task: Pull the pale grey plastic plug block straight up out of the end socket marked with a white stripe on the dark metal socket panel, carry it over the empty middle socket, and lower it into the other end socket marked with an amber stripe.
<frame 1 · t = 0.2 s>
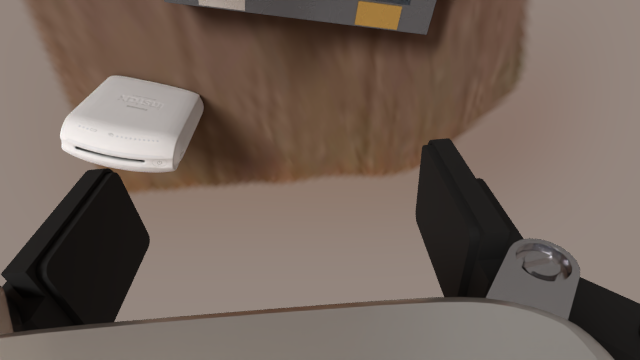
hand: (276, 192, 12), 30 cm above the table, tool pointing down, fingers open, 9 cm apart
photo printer: (158, 97, 41), on the table
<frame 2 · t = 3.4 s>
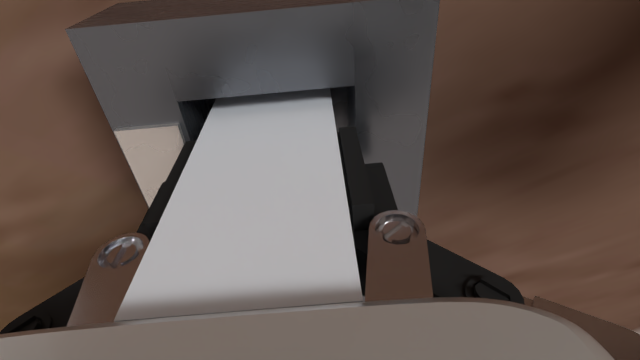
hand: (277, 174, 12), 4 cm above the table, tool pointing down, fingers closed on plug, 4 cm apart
plug: (282, 126, 15), resting on socket panel, touching gripper
socket panel: (300, 239, 20), on the table
when the fingers open (5 cm above the table, at t = 8.6 s): plug drops 1 cm, resting on socket panel.
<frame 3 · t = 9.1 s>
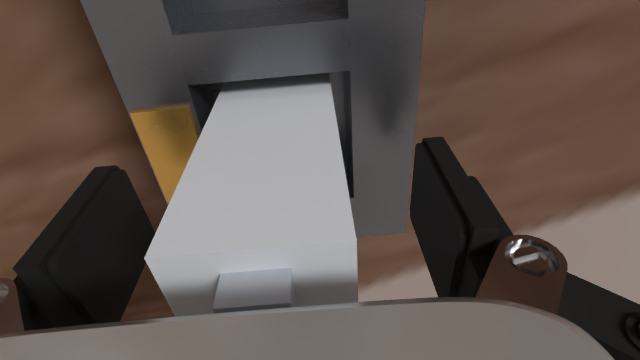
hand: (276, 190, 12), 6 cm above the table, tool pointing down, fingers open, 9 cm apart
plug: (284, 111, 16), resting on socket panel
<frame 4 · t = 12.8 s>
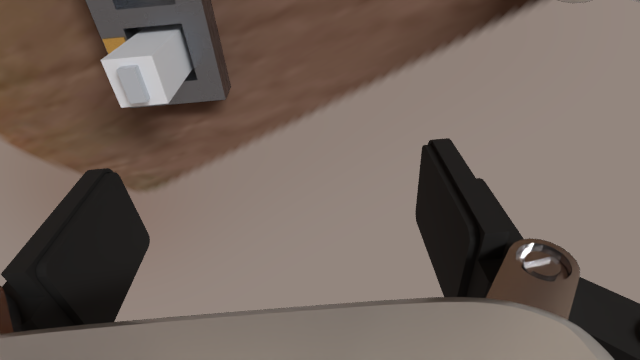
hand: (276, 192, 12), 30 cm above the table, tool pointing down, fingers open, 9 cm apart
plug: (171, 46, 38), resting on socket panel
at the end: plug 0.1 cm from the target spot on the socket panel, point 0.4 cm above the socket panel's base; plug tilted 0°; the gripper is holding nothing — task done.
